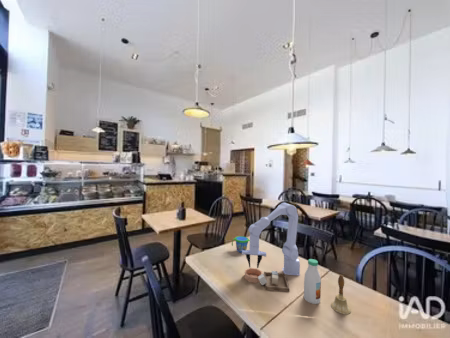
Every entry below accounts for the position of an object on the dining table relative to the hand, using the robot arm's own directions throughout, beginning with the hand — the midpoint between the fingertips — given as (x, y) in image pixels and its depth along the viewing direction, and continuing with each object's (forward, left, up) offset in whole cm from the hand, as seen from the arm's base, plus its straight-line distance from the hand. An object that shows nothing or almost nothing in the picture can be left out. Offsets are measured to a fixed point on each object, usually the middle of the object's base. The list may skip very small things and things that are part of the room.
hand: (253, 267), depth 122 cm
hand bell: (-41, +21, -6) cm, 46 cm away
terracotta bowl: (0, +2, -6) cm, 6 cm away
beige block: (-12, +5, -5) cm, 14 cm away
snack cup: (+9, -36, -6) cm, 37 cm away
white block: (-5, +7, -3) cm, 9 cm away
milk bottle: (-29, +17, -6) cm, 34 cm away
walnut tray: (-13, +5, -6) cm, 15 cm away
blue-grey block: (-13, +1, -5) cm, 14 cm away
